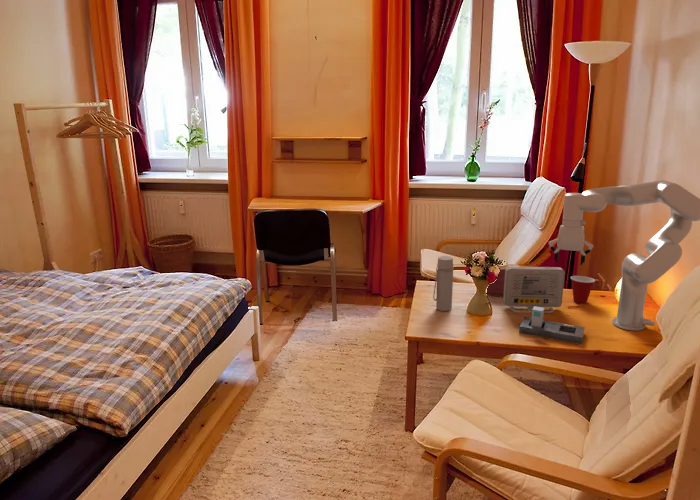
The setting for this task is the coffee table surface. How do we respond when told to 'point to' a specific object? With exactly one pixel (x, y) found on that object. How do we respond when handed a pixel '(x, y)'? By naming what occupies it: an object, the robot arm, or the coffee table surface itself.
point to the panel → (553, 331)
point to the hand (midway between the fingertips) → (569, 262)
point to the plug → (537, 316)
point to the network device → (533, 287)
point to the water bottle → (444, 283)
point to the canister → (498, 282)
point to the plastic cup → (581, 288)
